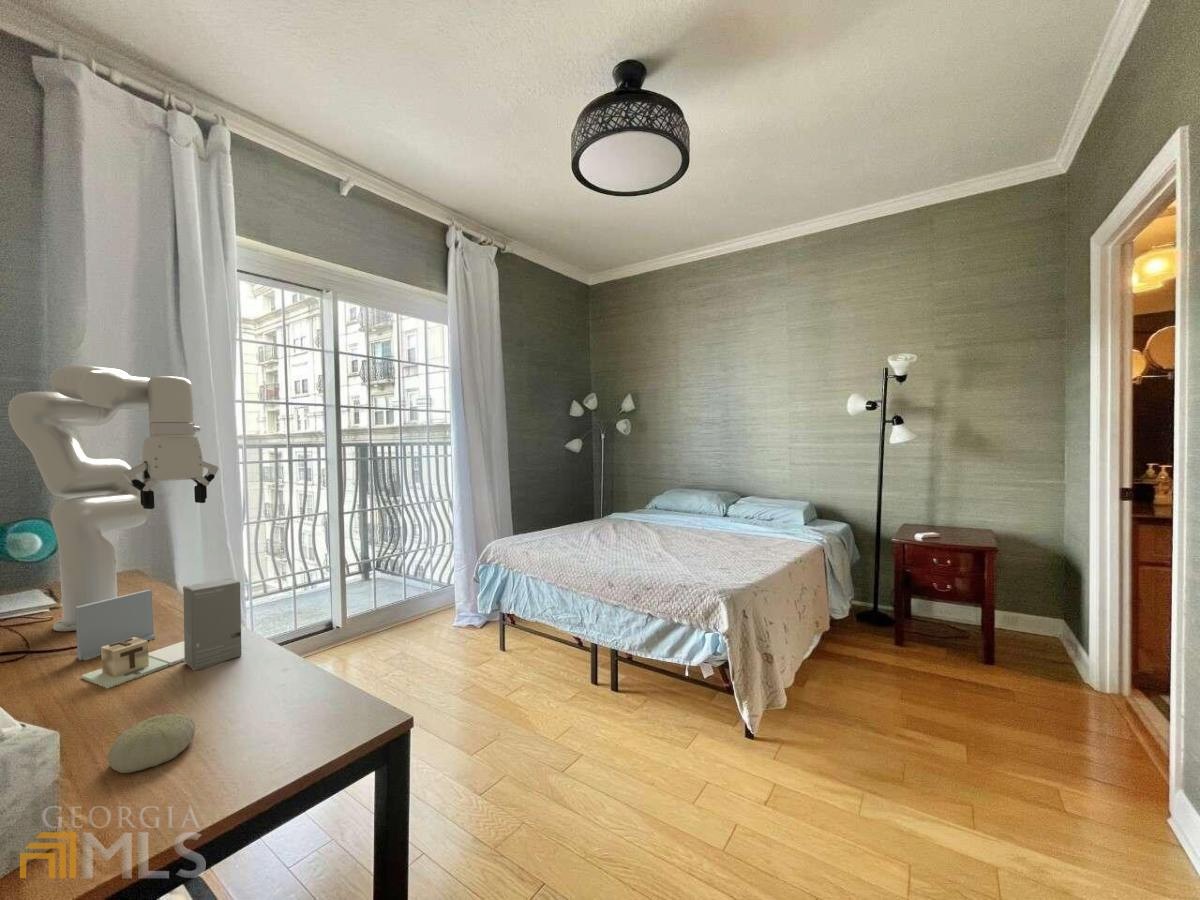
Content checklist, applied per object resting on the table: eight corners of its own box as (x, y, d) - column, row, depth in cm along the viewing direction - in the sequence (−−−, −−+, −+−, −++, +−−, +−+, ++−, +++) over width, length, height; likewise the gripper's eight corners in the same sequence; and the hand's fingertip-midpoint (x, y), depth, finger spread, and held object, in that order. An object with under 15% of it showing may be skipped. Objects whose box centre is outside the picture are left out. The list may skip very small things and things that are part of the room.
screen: (75, 658, 99) (72, 606, 99) (148, 635, 110) (146, 588, 110) (83, 661, 98) (80, 608, 97) (156, 638, 109) (154, 590, 108)
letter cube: (102, 672, 91) (100, 646, 91) (135, 661, 96) (134, 635, 96) (115, 677, 89) (114, 650, 89) (149, 666, 94) (148, 640, 94)
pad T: (81, 678, 91) (81, 674, 91) (142, 657, 99) (142, 654, 99) (107, 688, 87) (107, 684, 87) (168, 666, 95) (168, 662, 95)
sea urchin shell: (215, 718, 74) (183, 703, 68) (187, 779, 68) (149, 768, 62) (155, 720, 73) (117, 705, 68) (121, 781, 68) (77, 771, 62)
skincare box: (192, 672, 92) (189, 591, 92) (183, 662, 97) (179, 585, 96) (245, 655, 99) (242, 580, 99) (233, 647, 103) (230, 575, 103)
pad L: (145, 656, 99) (145, 653, 99) (196, 639, 108) (196, 636, 108) (171, 665, 95) (171, 661, 95) (222, 646, 103) (222, 643, 103)
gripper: (206, 431, 118) (209, 500, 118) (113, 431, 102) (117, 510, 103) (224, 430, 115) (227, 501, 115) (131, 430, 99) (135, 512, 100)
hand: (175, 505), depth 109 cm, fingers open, 9 cm apart
